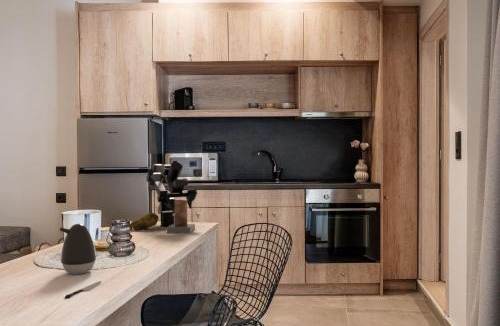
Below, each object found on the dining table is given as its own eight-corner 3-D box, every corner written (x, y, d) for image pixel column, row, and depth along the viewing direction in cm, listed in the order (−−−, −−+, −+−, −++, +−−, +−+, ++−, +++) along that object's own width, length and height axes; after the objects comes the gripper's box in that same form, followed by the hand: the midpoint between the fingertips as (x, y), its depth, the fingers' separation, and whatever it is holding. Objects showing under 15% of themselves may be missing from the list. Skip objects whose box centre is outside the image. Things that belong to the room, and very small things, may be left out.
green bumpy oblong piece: (136, 227, 242) (135, 211, 242) (160, 228, 240) (160, 212, 239) (129, 230, 234) (128, 213, 234) (154, 230, 231) (153, 214, 231)
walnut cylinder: (174, 226, 227) (173, 201, 227) (175, 224, 233) (174, 199, 233) (187, 226, 228) (186, 200, 227) (187, 224, 234) (187, 199, 233)
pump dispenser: (60, 270, 153) (59, 222, 153) (94, 267, 157) (93, 220, 157) (61, 278, 144) (60, 227, 144) (97, 274, 148) (96, 224, 148)
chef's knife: (112, 281, 141) (102, 280, 142) (112, 278, 141) (102, 277, 142) (74, 301, 123) (63, 299, 123) (74, 296, 123) (63, 295, 123)
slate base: (166, 232, 225) (166, 227, 225) (172, 229, 236) (172, 223, 236) (190, 232, 224) (190, 227, 224) (194, 229, 235) (194, 223, 235)
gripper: (158, 173, 229) (166, 198, 219) (195, 172, 238) (204, 196, 228) (153, 189, 236) (161, 214, 226) (189, 187, 245) (198, 211, 235)
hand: (181, 208), depth 229 cm, fingers open, 9 cm apart
